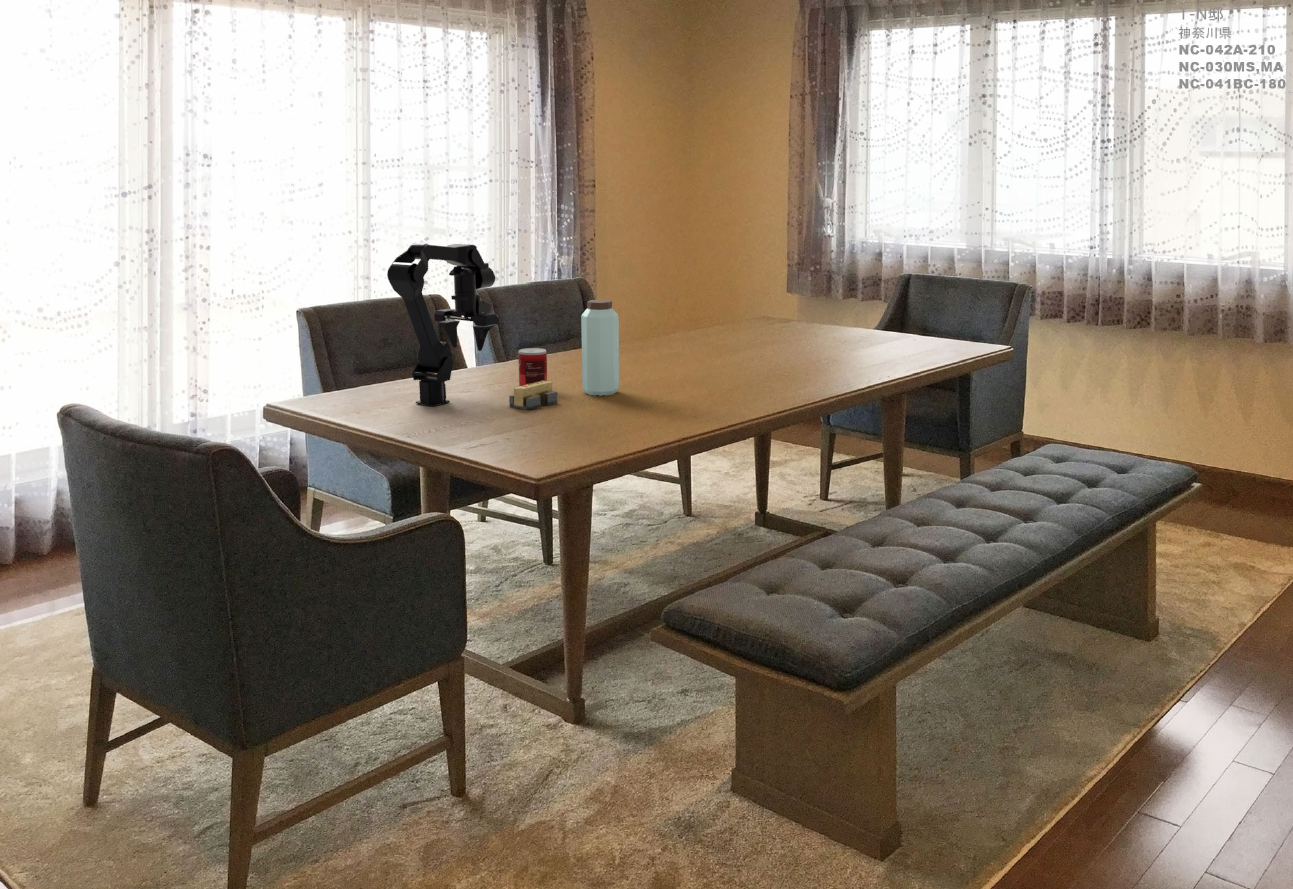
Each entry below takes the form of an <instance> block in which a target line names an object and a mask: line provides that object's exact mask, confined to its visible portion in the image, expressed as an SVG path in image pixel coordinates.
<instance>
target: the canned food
mask: <svg viewBox="0 0 1293 889" xmlns="http://www.w3.org/2000/svg"><path fill="white" fill-rule="evenodd" d="M517 354H518V355H517V356H518V379H519V380H518V382H519V386H523V385H527V384H531V383H535V382H539V381H548V356H547V355H548V353H547V350H546V349H545V348H540V347H529V348H528V347H527V348H521V349H518V352H517ZM519 386H518V387H519Z"/></svg>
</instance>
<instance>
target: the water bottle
mask: <svg viewBox="0 0 1293 889" xmlns="http://www.w3.org/2000/svg"><path fill="white" fill-rule="evenodd" d="M619 320H620V318H619V314H618V313H617V312H616V311H615V310H614V308H613V301H612V300H610V299H590V300H588V301H587V303H586V309H585V310H584V312H583V313H582V314H581V320H580V321H581V323H580V324H581V325H580V326H581V379H582V380H581V381H582V382H581V383H582V390H583V391H584V393H586V394H587V395H589V396H596V395H599V397H601V396H602V395H605V396H612V395H615V394H616V393H617V392H618V391H619V389H620V353H619V352H620V342H619V341H620V333H619V332H620V324H619V322H620V321H619ZM602 397H603V396H602Z"/></svg>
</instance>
